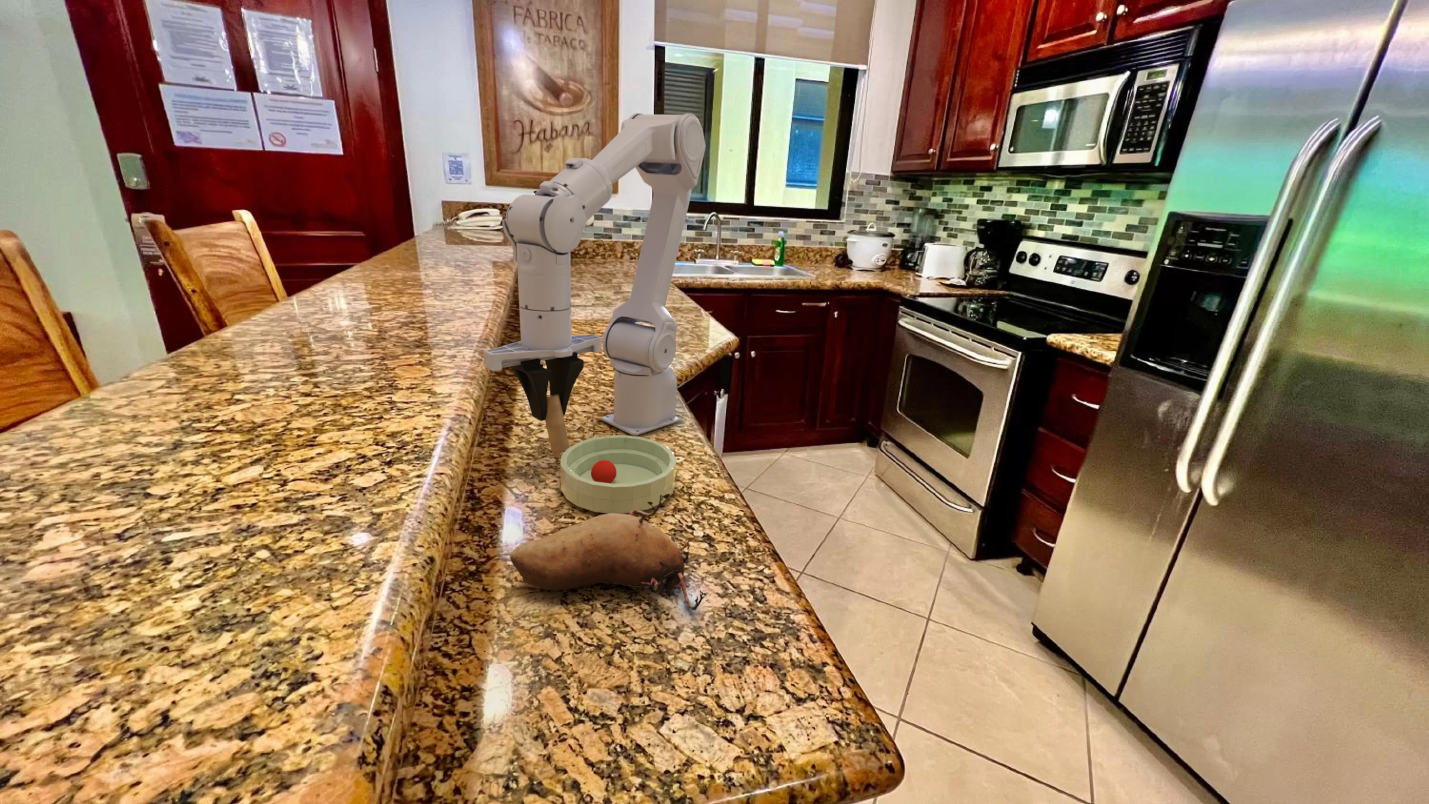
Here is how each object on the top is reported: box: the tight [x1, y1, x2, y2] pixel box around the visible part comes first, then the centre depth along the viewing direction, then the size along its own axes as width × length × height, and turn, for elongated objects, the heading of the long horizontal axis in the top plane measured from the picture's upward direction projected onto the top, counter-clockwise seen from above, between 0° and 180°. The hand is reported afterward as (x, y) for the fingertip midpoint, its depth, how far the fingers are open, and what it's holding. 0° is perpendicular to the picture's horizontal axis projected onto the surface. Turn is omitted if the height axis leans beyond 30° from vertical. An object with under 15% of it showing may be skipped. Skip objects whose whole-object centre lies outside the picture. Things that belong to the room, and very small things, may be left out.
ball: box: [591, 460, 617, 483], centre depth 65 cm, size 3×3×3 cm
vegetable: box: [509, 494, 708, 611], centre depth 48 cm, size 16×11×10 cm
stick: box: [544, 394, 571, 454], centre depth 67 cm, size 2×2×7 cm
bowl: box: [559, 434, 677, 514], centre depth 66 cm, size 13×13×4 cm
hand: (548, 415), depth 68 cm, fingers closed on stick, 2 cm apart
